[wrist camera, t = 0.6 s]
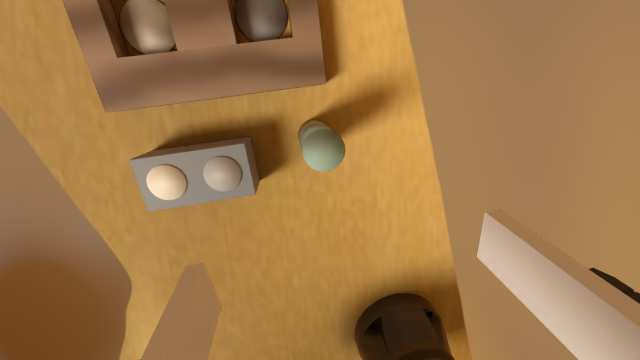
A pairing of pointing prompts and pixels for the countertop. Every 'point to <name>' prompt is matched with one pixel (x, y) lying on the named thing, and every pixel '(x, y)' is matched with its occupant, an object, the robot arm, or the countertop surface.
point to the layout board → (196, 49)
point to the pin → (320, 145)
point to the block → (196, 173)
